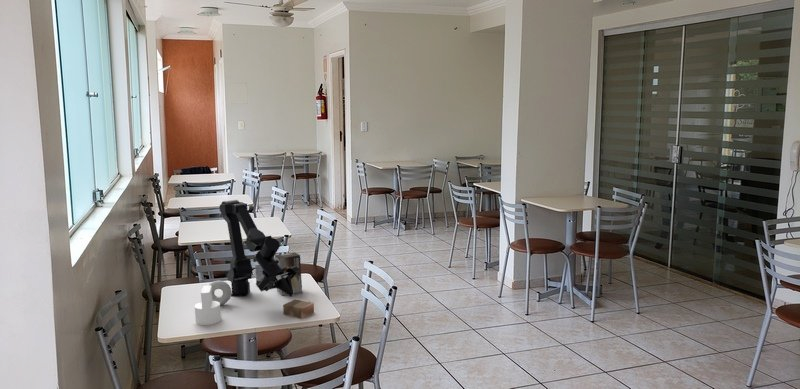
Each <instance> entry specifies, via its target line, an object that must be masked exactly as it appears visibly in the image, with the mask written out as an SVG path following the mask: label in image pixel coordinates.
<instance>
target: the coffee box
mask: <svg viewBox="0 0 800 389" xmlns="http://www.w3.org/2000/svg"><path fill="white" fill-rule="evenodd" d="M274 259H275V261H276V260H278V261H279V263H278V265H279V266H280V267H281V269H283V268H284V269H285V271H284V273H285V272H286V271H287V270H288V268H290V267H293V266H297V267H298V269H299V270H300V271H299V272H298V273H297V274H296V275H295V276H294V277H293V278H292V279H291V284H292V289H293V294H298V293H302V292H303V283H302V269H301V267H302V265H301V264H302V263H301V255H300V254H299V253H297V252H295V251H294V252H287V253H281V254H275V255H274ZM276 292H277V293H278V294H279V295H281V296H286V295H288V294H286V293H285V292H283V291H282V290H280V289H278V288H276ZM288 296H289V295H288Z"/></svg>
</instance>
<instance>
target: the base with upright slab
mask: <svg viewBox="0 0 800 389" xmlns="http://www.w3.org/2000/svg"><path fill="white" fill-rule="evenodd" d="M208 285H209V284H208ZM208 285H202V289H201V292H200V296H201V297H200V298H201V299H200V300H201V301H200V302H197V303H196V304H195V305H194V318H195V323H196V325H200V326H210V325H214V324H217V323H219V322H220V321H221V320H222V314H221V305H220V303H219V302H217V301H213V300H212V285H209V286H208Z"/></svg>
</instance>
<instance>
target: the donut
mask: <svg viewBox="0 0 800 389" xmlns="http://www.w3.org/2000/svg"><path fill="white" fill-rule="evenodd" d="M209 285H212V300H213V301H217V302H219V303H220V306H223V305H225V304H226V303H228V302H229V301H230V299H231V297H232V296H231V294H232V287H231V286H230V284H228V282H226V281H224V280H213V281H212V282H210V283H209V284H208V285H207V286H209ZM216 290H221V291H222V294H221V296H217V295H215V291H216Z"/></svg>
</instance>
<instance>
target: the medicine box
mask: <svg viewBox="0 0 800 389" xmlns="http://www.w3.org/2000/svg"><path fill="white" fill-rule="evenodd" d="M254 267H255V283H256V282H257V281H258V280H261V279H262V278H263V277H264V275H263V274H262V271H263V269H262V268H261V266H260V265H259V264H258V263H256V264H255V266H254Z"/></svg>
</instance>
